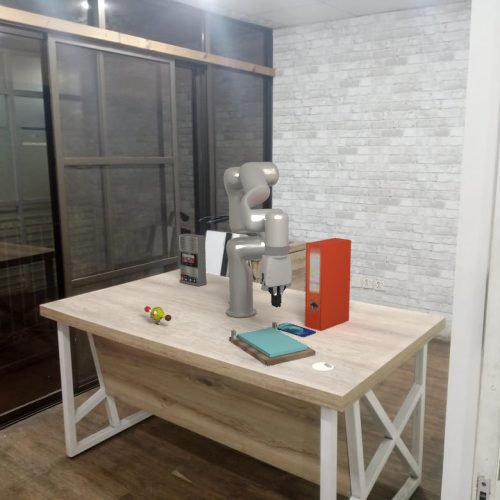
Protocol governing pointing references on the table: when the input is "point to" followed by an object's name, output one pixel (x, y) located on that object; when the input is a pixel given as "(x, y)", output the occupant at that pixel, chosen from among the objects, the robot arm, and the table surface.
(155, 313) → the molecule model
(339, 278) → the file binder
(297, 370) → the table surface
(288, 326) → the smartphone
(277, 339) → the plate
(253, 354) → the press base
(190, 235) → the cassette tape recorder
